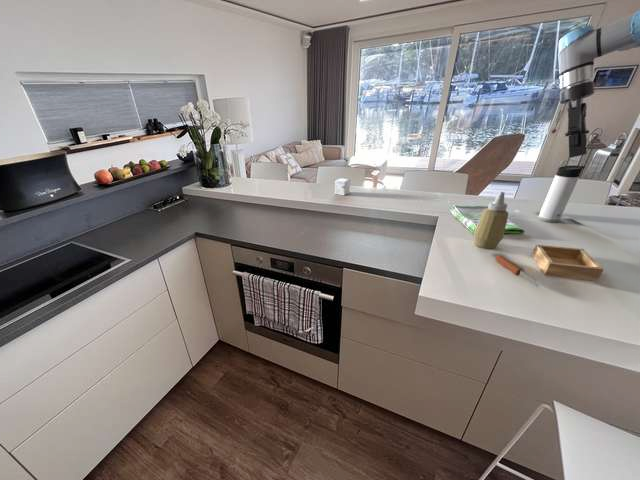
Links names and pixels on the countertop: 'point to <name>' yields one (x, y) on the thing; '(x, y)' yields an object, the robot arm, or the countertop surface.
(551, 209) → the travel mug
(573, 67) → the robot arm
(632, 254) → the countertop surface
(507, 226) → the dish towel
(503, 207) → the squeeze bottle
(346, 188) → the product carton
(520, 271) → the kitchen knife
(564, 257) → the wooden tray
